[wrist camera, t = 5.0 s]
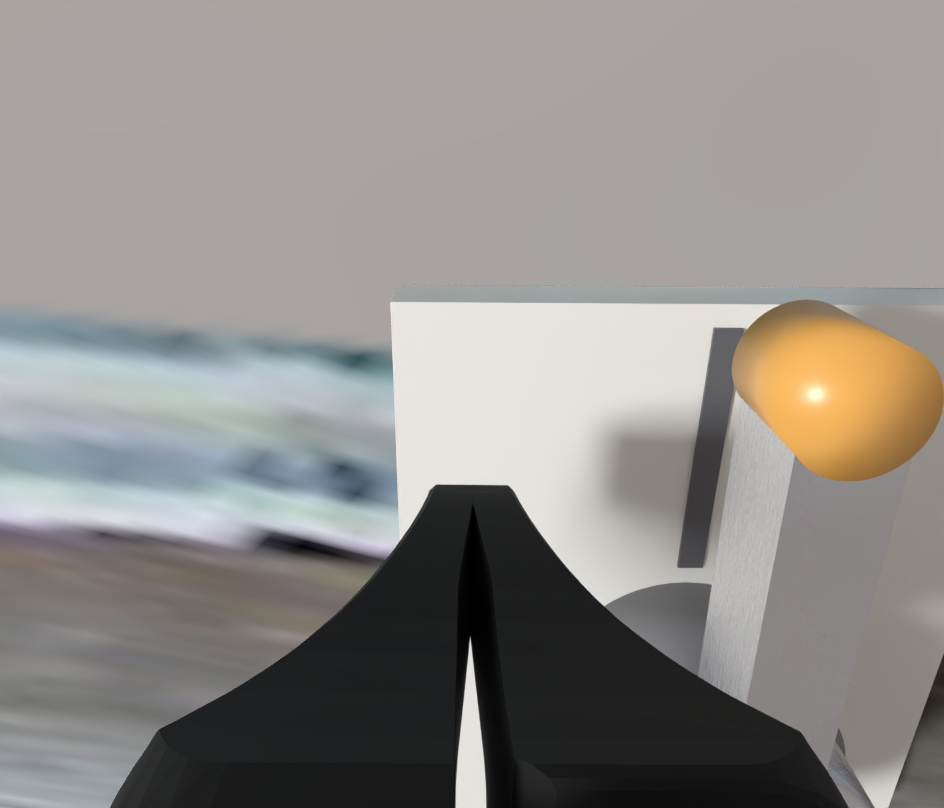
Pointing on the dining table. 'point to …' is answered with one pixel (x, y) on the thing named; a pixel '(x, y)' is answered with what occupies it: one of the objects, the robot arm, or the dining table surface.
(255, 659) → the dining table surface
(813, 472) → the lever with orange knob
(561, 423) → the board
